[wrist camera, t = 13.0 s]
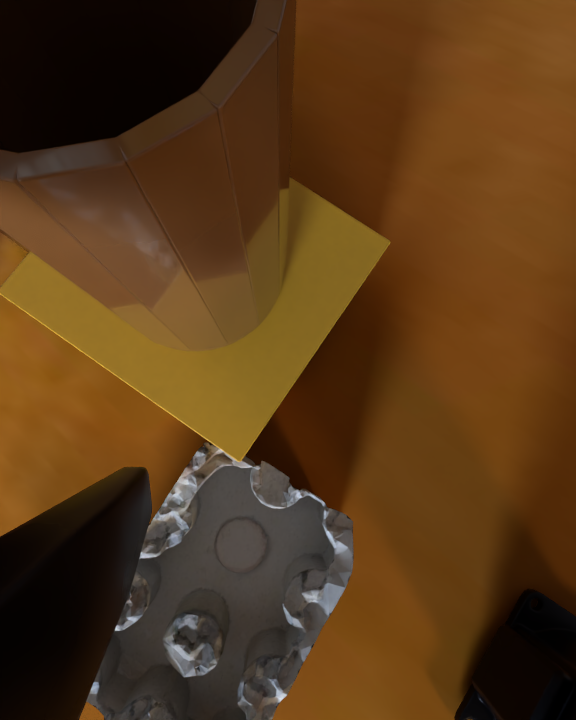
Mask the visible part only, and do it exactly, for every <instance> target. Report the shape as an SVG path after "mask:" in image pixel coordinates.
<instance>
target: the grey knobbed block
mask: <svg viewBox="0 0 576 720" xmlns="http://www.w3.org/2000/svg"><path fill="white" fill-rule="evenodd" d="M203 445H204V447H201V448H199V450H198V451H197V452H196V454H195V455H194V456H193V458H192V459H191V461H190V463H189V464H188V465H187V467H186V468H185V470H184V471H183V473H182V474H181V476H180V478H179V479H178V481H177V482H176V484H175V485H174V487H173V488H172V490H171V491H170V493H169V495H168V496H167V498H166V499H165V501H164V502H163V504H162V506H161V507H160V509H159V511H158V512H157V514H156V515H155V517H154V518H153V520H152V521H151V523H150V525H149V526H148V529H147V533H146V536H145V540H144V544H143V547H142V551H141V554H140V558H139V562H138V565H137V569H136V572H135V576H134V580H133V583H132V586H131V590H130V593H129V595H128V598H127V601H126V604H125V606H124V609H123V611H122V614H121V616H120V619H119V621H118V624H117V626H116V629H115V631H114V634H113V636H112V638H111V641H110V643H109V646H108V648H107V651H106V653H105V656H104V658H103V661H102V663H101V666H100V668H99V671H98V673H97V676H96V678H95V681H94V683H93V686H92V688H91V691H90V693H89V696H88V698H87V702H89V703H90V704H92V705H93V706H94V707H96V708H97V709H98V710H99V711H100V712H101V713H102V714H103V715H104V720H272V718H273V716H274V713H275V710H276V708H277V706H278V704H279V703H280V701H281V700H282V699H283V698H284V697H285V696H286V695H287V694H288V692H289V690H290V688H291V687H292V685H293V683H294V681H295V679H296V677H297V674H298V672H299V670H300V668H301V666H302V664H303V662H304V660H305V659H306V657H307V655H308V654H309V652H310V650H311V649H312V647H313V645H314V643H315V641H316V639H317V637H318V635H319V633H320V631H321V629H322V627H323V625H324V624H325V622H326V621H327V619H328V618H329V616H330V614H331V613H332V611H333V609H334V607H335V606H336V604H337V602H338V600H339V599H340V597H341V595H342V593H343V592H344V590H345V588H346V586H347V583H348V580H349V578H350V575H351V573H352V567H353V521H352V520H351V519H350V518H349V517H348V516H346V515H345V514H343V513H341V512H339V511H336V510H334V509H330V508H328V507H327V506H326V504H325V503H324V502H323V500H322V499H321V498H319V497H318V496H316V495H314V494H313V493H311V492H309V491H308V490H307V489H301V490H297V489H296V488H294V487H293V486H291V484H290V483H289V477H288V476H286V475H285V474H284V473H282V472H280V471H279V470H277V469H276V468H274V467H273V466H271V465H270V464H268V463H266V462H264V461H261V464H259V465H255V463H254V462H253V461H252V460H251V459H249V458H247V457H246V456H244V458H243V459H242V461H241V462H238V461H236V460H235V459H233V458H232V457H231V456H229V455H228V454H226V453H225V452H223V451H222V450H221V449H219V448H218V447H216V446H214V445H212V444H210V443H203Z"/></svg>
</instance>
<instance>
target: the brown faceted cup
mask: <svg viewBox="0 0 576 720" xmlns="http://www.w3.org/2000/svg"><path fill="white" fill-rule="evenodd" d="M295 22H296V0H0V232H1V233H2V234H4V235H5V236H7V237H8V238H9V239H11V240H12V241H13V242H15V243H16V244H18V245H19V246H20V247H22V248H23V249H24V250H26V251H27V252H29V253H30V254H31V255H33V256H34V257H35V258H37V259H38V260H40V261H41V262H42V263H44V264H45V265H46V266H48V267H49V268H50V269H52V270H53V271H55V272H56V273H57V274H59V275H60V276H61V277H63V278H64V279H66V280H67V281H68V282H70V283H71V284H72V285H74V286H75V287H77V288H78V289H79V290H81V291H82V292H83V293H85V294H86V295H88V296H89V297H90V298H92V299H93V300H94V301H96V302H97V303H99V304H100V305H101V306H103V307H104V308H105V309H107V310H108V311H110V312H111V313H112V314H114V315H115V316H116V317H118V318H119V319H121V320H122V321H123V322H125V323H126V324H128V325H129V326H130V327H132V328H133V329H135V330H136V331H138V332H139V333H141V334H142V335H143V336H145V337H147V338H148V339H150V340H151V341H153V342H154V343H156V344H160V345H163V346H165V347H169V348H172V349H176V350H183V351H207V350H213V349H217V348H221V347H224V346H227V345H229V344H232V343H234V342H236V341H238V340H240V339H242V338H243V337H245V336H246V335H248V334H249V333H251V332H252V331H253V330H255V329H256V328H257V327H258V326H259V325H260V324H261V323H262V322H263V321H264V319H265V318H266V317H267V316H268V314H269V313H270V312H271V310H272V308H273V307H274V305H275V303H276V301H277V299H278V297H279V294H280V291H281V288H282V284H283V279H284V272H285V267H286V259H287V233H288V206H289V180H290V154H291V128H292V101H293V75H294V49H295Z"/></svg>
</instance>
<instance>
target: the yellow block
mask: <svg viewBox="0 0 576 720" xmlns="http://www.w3.org/2000/svg"><path fill="white" fill-rule="evenodd" d="M389 244H390V241H389V240H388V239H386V238H385V237H383V236H382V235H380V234H378V233H377V232H375V231H374V230H372V229H371V228H369V227H368V226H366V225H364V224H363V223H361V222H360V221H358V220H357V219H355V218H353V217H352V216H350V215H349V214H347V213H346V212H344V211H342V210H341V209H339V208H338V207H336V206H335V205H333V204H332V203H330V202H328V201H327V200H325V199H324V198H322V197H321V196H319V195H317V194H316V193H314V192H313V191H311V190H310V189H308V188H307V187H305V186H303V185H302V184H300V183H299V182H297V181H296V180H294V179H292V178H291V177H290V180H289V206H288V233H287V259H286V267H285V272H284V279H283V284H282V288H281V291H280V294H279V297H278V299H277V301H276V303H275V305H274V307H273V308H272V310H271V312H270V313H269V314H268V316H267V317H266V318H265V319H264V321H263V322H262V323H261V324H260V325H259V326H258V327H257V328H256V329H255V330H253V331H252V332H251V333H249V334H248V335H246V336H245V337H243V338H242V339H240V340H238V341H236V342H234V343H232V344H229V345H227V346H224V347H221V348H217V349H213V350H207V351H183V350H176V349H172V348H169V347H165V346H163V345H160V344H156V343H154V342H153V341H151V340H150V339H148V338H147V337H145V336H143V335H142V334H141V333H139V332H138V331H136V330H135V329H133V328H132V327H130V326H129V325H128V324H126V323H125V322H123V321H122V320H121V319H119V318H118V317H116V316H115V315H114V314H112V313H111V312H110V311H108V310H107V309H105V308H104V307H103V306H101V305H100V304H99V303H97V302H96V301H94V300H93V299H92V298H90V297H89V296H88V295H86V294H85V293H83V292H82V291H81V290H79V289H78V288H77V287H75V286H74V285H72V284H71V283H70V282H68V281H67V280H66V279H64V278H63V277H61V276H60V275H59V274H57V273H56V272H55V271H53V270H52V269H50V268H49V267H48V266H46V265H45V264H44V263H42V262H41V261H40V260H38V259H37V258H35V257H34V256H33V255H31V254H30V253H28V255H27V256H26V257H25V258H24V259H23V261H22V262H21V263H20V264H19V265H18V267H17V268H16V269H15V270H14V272H13V273H12V274H11V275H10V276H9V278H8V279H7V280H6V281H5V282H4V284H3V285H2V286H1V287H0V295H2V296H3V297H5V298H6V299H7V300H9V301H10V302H12V303H13V304H15V305H16V306H17V307H19V308H20V309H22V310H23V311H25V312H26V313H27V314H29V315H30V316H32V317H33V318H34V319H36V320H37V321H39V322H40V323H42V324H43V325H44V326H46V327H47V328H49V329H50V330H52V331H53V332H54V333H56V334H57V335H59V336H60V337H61V338H63V339H64V340H66V341H67V342H69V343H70V344H71V345H73V346H74V347H76V348H77V349H79V350H80V351H81V352H83V353H84V354H86V355H87V356H88V357H90V358H91V359H93V360H94V361H96V362H97V363H98V364H100V365H101V366H103V367H104V368H106V369H107V370H108V371H110V372H111V373H113V374H114V375H115V376H117V377H118V378H120V379H121V380H123V381H124V382H125V383H127V384H128V385H130V386H131V387H133V388H134V389H135V390H137V391H138V392H140V393H141V394H142V395H144V396H145V397H147V398H148V399H150V400H151V401H152V402H154V403H155V404H157V405H158V406H160V407H161V408H162V409H164V410H165V411H167V412H168V413H169V414H171V415H172V416H174V417H175V418H177V419H178V420H179V421H181V422H182V423H184V424H185V425H186V426H188V427H189V428H191V429H192V430H194V431H195V432H196V433H198V434H199V435H201V436H202V437H204V438H205V439H206V440H208V441H209V442H211V443H212V444H213V445H215V446H216V447H218V448H219V449H221V450H222V451H223V452H225V453H226V454H228V455H229V456H231V457H232V458H233V459H235V460H236V461H238V462H241V461H242V459H243V458H244V456H245V455H246V453H247V452H248V450H249V449H250V448H251V446H252V445H253V443H254V442H255V440H256V439H257V437H258V436H259V434H260V433H261V431H262V430H263V429H264V427H265V426H266V424H267V423H268V421H269V420H270V418H271V417H272V415H273V414H274V412H275V411H276V410H277V408H278V407H279V405H280V404H281V402H282V401H283V399H284V398H285V396H286V395H287V393H288V392H289V391H290V389H291V388H292V386H293V385H294V383H295V382H296V380H297V379H298V377H299V376H300V374H301V373H302V372H303V370H304V369H305V367H306V366H307V364H308V363H309V361H310V360H311V358H312V357H313V355H314V354H315V353H316V351H317V350H318V348H319V347H320V345H321V344H322V342H323V341H324V339H325V338H326V336H327V335H328V334H329V332H330V331H331V329H332V328H333V326H334V325H335V323H336V322H337V320H338V319H339V317H340V316H341V315H342V313H343V312H344V310H345V309H346V307H347V306H348V304H349V303H350V301H351V300H352V298H353V297H354V296H355V294H356V293H357V291H358V290H359V288H360V287H361V285H362V284H363V282H364V281H365V279H366V278H367V277H368V275H369V274H370V272H371V271H372V269H373V268H374V266H375V265H376V263H377V262H378V260H379V259H380V258H381V256H382V255H383V253H384V252H385V250H386V249H387V247H388V246H389Z"/></svg>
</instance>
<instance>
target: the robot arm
mask: <svg viewBox="0 0 576 720" xmlns="http://www.w3.org/2000/svg"><path fill="white" fill-rule="evenodd" d="M151 512H152V502H151V492H150V483H149V474H148V471H147V469H146V468H144V467H124V468H122V469H120V470H118V471H116V472H115V473H113V474H111V475H109V476H108V477H106V478H104V479H102V480H100V481H99V482H97V483H95V484H93V485H92V486H90V487H88V488H86V489H84V490H83V491H81V492H79V493H77V494H76V495H74V496H72V497H70V498H68V499H67V500H65V501H63V502H61V503H59V504H58V505H56V506H54V507H52V508H51V509H49V510H47V511H45V512H43V513H42V514H40V515H38V516H36V517H35V518H33V519H31V520H29V521H27V522H26V523H24V524H22V525H20V526H19V527H17V528H15V529H13V530H11V531H10V532H8V533H6V534H4V535H3V536H1V537H0V720H79V718H80V715H81V713H82V710H83V708H84V706H85V703H86V701H87V698H88V696H89V693H90V691H91V688H92V686H93V683H94V681H95V678H96V676H97V673H98V671H99V668H100V666H101V663H102V661H103V658H104V656H105V653H106V651H107V648H108V646H109V643H110V641H111V638H112V636H113V634H114V631H115V629H116V626H117V624H118V621H119V619H120V616H121V614H122V611H123V609H124V606H125V604H126V601H127V598H128V595H129V593H130V590H131V586H132V583H133V580H134V576H135V572H136V569H137V565H138V562H139V558H140V554H141V551H142V547H143V544H144V540H145V536H146V533H147V529H148V526H149V522H150V518H151ZM534 598H537V601H538V603H537V605H536V606H535V607H533V608H532V607H531V601H532V600H533V599H534ZM472 681H473V683H472V685H471V686H470V688H469V690H468V692H467V694H466V695H465V697H464V699H463V701H462V703H461V704H460V706H459V708H458V710H457V712H456V714H455V720H467V719H473V720H576V617H575V616H574V615H572V614H571V613H570V612H568V611H567V610H565V609H564V608H562V607H561V606H559V605H558V604H556V603H555V602H554V601H552V600H551V599H549V598H548V597H546V596H545V595H543V594H542V593H540V592H538V591H537V590H534V589H527V590H525V591H524V592H523V593H522V595H521V596H520V598H519V600H518V602H517V604H516V605H515V607H514V609H513V611H512V613H511V614H510V616H509V618H508V620H507V622H506V623H505V625H504V626H501V627H500V628H499V630H498V632H497V633H496V635H495V637H494V639H493V641H492V642H491V644H490V646H489V648H488V650H487V651H486V653H485V655H484V657H483V659H482V660H481V662H480V664H479V666H478V667H477V669H476V671H475V673H474V675H473V677H472Z"/></svg>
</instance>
